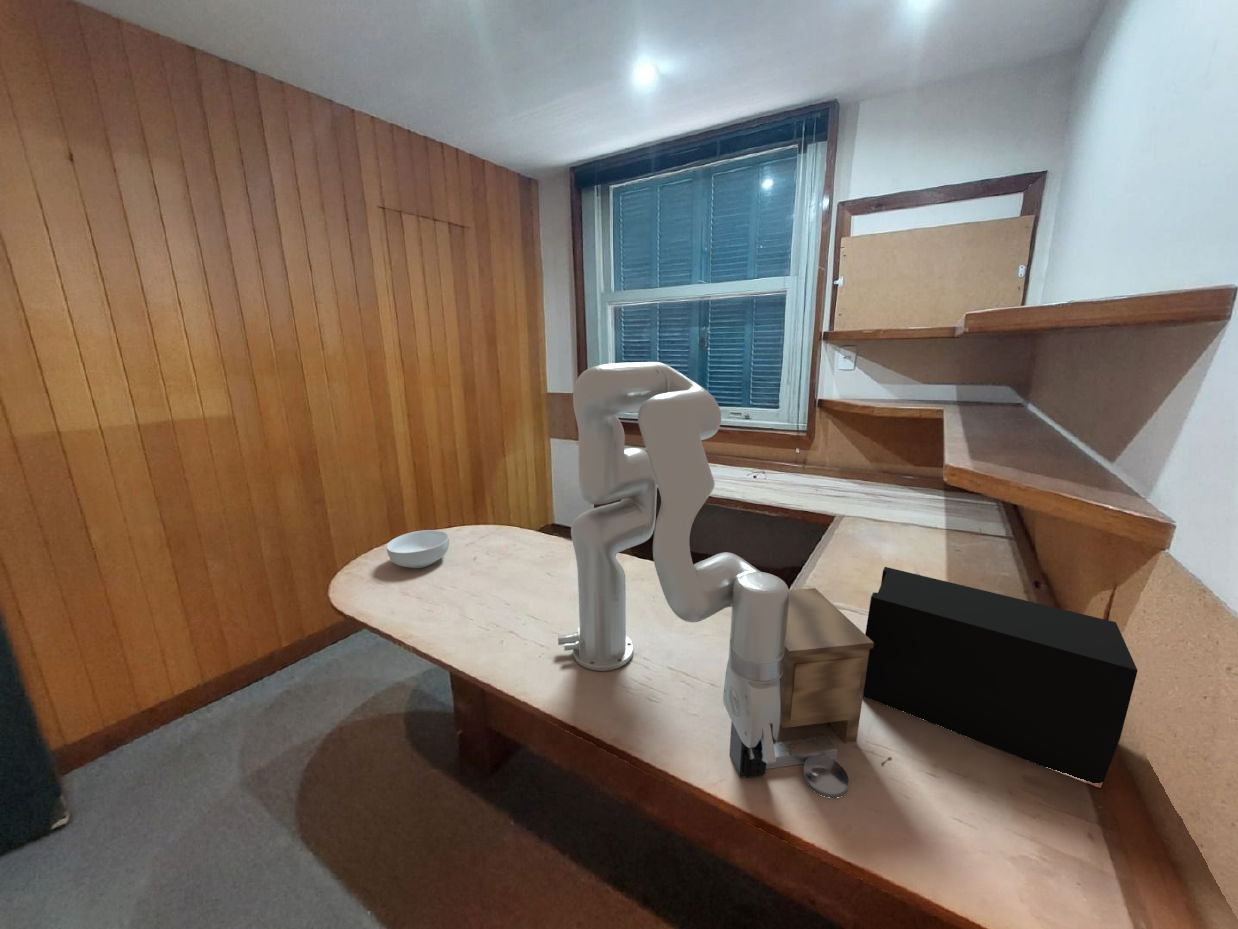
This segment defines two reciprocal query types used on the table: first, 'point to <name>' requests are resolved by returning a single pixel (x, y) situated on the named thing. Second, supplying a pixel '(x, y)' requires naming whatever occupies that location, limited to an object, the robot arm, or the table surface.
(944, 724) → the uninterruptible power supply
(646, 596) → the table surface
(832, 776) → the steel token
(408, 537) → the cereal bowl
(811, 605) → the walnut cabinet
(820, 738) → the metal handled mallet
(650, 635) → the table surface
